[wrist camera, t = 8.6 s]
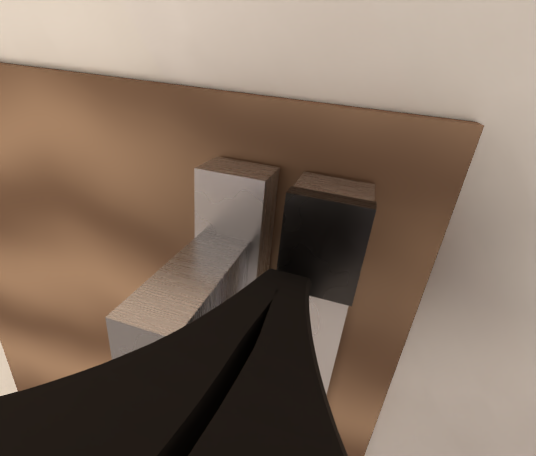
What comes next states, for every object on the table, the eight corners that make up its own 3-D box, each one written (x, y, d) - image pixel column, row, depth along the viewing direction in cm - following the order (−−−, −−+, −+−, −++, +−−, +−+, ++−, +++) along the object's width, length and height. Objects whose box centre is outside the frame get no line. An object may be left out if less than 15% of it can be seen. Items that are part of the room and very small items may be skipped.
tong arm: (245, 481, 19) (193, 639, 13) (209, 467, 19) (145, 614, 14) (279, 167, 11) (186, 253, 6) (217, 156, 11) (78, 226, 6)
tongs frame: (285, 554, 21) (276, 604, 19) (207, 521, 22) (191, 564, 20) (377, 184, 10) (376, 209, 8) (217, 156, 11) (184, 173, 9)
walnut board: (320, 563, 22) (319, 579, 21) (49, 446, 27) (40, 456, 26) (476, 122, 10) (484, 125, 9) (-77, 53, 15) (-100, 52, 14)
